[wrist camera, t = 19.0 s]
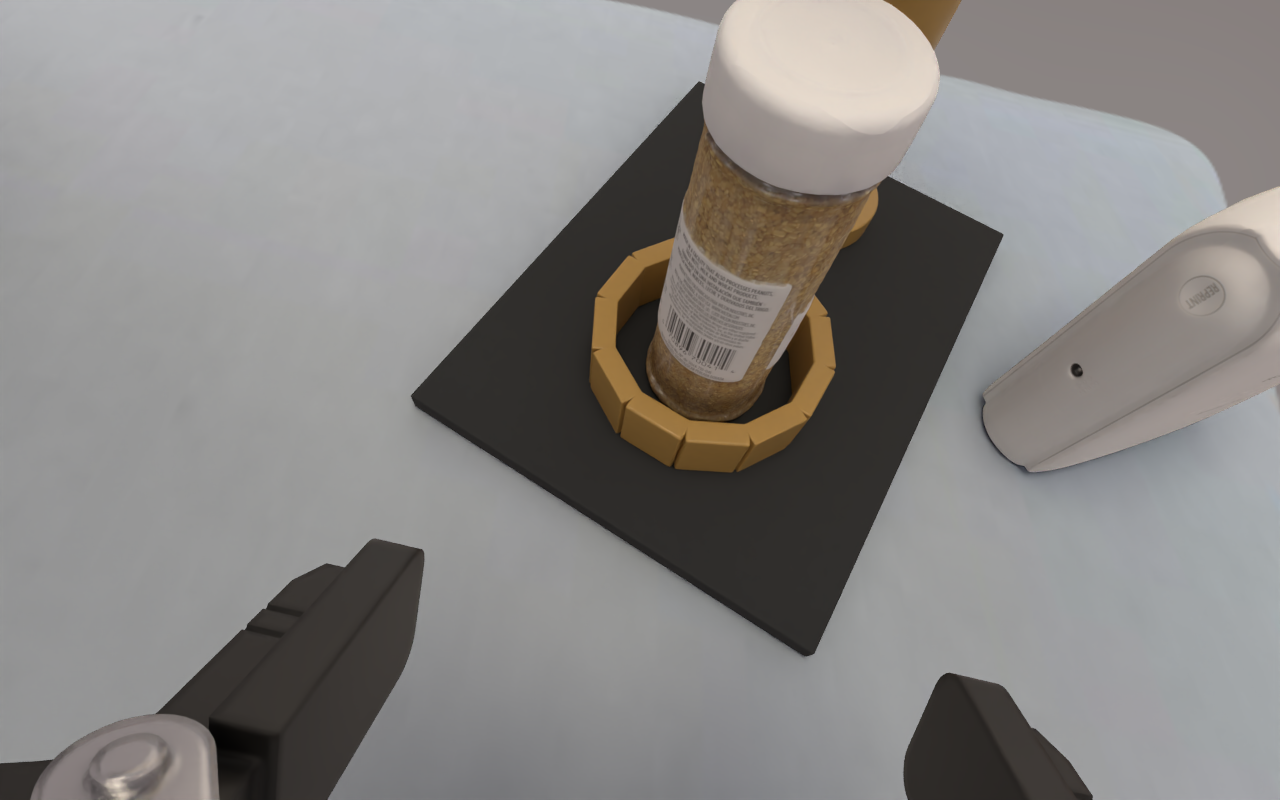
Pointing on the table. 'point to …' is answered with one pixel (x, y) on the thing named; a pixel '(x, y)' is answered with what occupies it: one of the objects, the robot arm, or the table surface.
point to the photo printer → (1152, 347)
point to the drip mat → (764, 492)
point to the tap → (809, 349)
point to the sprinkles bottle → (780, 184)
